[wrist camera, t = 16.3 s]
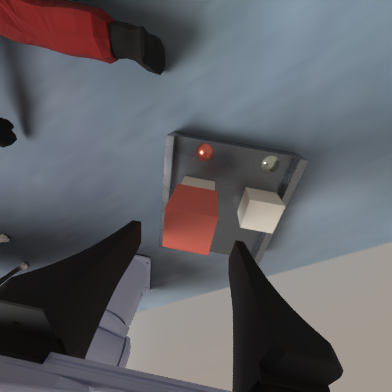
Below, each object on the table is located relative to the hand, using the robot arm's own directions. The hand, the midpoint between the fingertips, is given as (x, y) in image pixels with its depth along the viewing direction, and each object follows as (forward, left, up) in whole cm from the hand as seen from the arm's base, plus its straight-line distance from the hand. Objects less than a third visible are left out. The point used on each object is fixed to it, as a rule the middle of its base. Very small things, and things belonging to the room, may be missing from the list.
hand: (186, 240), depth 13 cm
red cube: (0, 0, -5) cm, 5 cm away
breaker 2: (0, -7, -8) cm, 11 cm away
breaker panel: (-2, -3, -10) cm, 11 cm away
